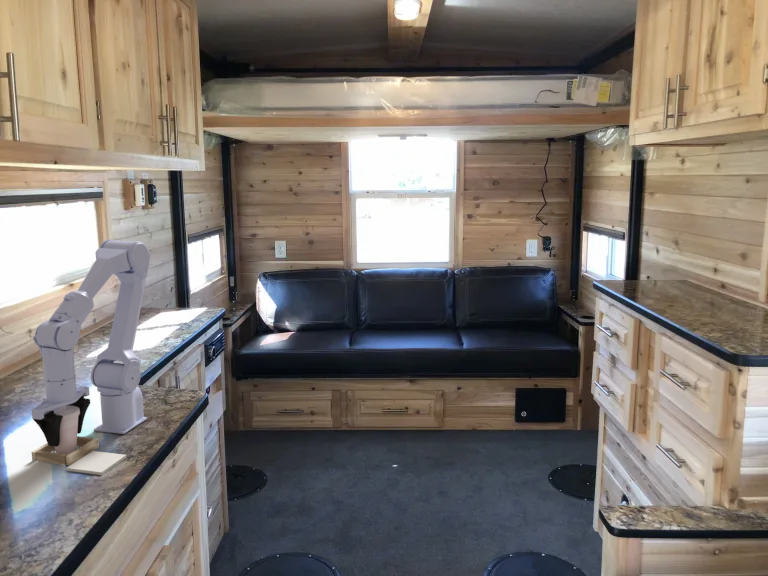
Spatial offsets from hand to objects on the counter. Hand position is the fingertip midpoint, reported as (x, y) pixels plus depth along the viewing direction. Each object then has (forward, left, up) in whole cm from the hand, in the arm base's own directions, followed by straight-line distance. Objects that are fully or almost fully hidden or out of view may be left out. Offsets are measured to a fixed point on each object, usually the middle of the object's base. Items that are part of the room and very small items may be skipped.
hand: (65, 438), depth 131 cm
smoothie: (0, 0, -4) cm, 4 cm away
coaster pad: (+2, +9, -3) cm, 10 cm away
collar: (0, 0, -3) cm, 3 cm away
